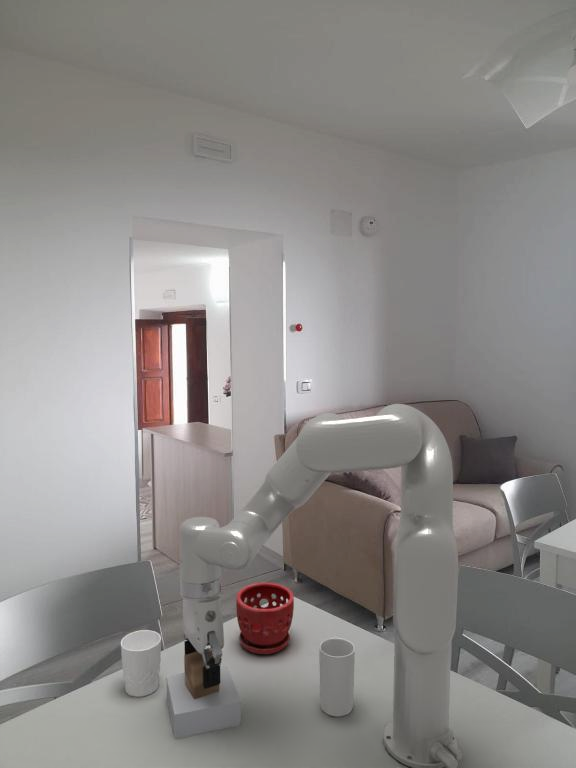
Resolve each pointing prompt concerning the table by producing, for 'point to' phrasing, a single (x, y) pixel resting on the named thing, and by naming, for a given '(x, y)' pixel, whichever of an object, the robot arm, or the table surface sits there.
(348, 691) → the mug
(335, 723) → the table surface
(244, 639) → the plant pot
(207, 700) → the grey block
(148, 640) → the white cup
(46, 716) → the table surface
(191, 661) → the walnut block
